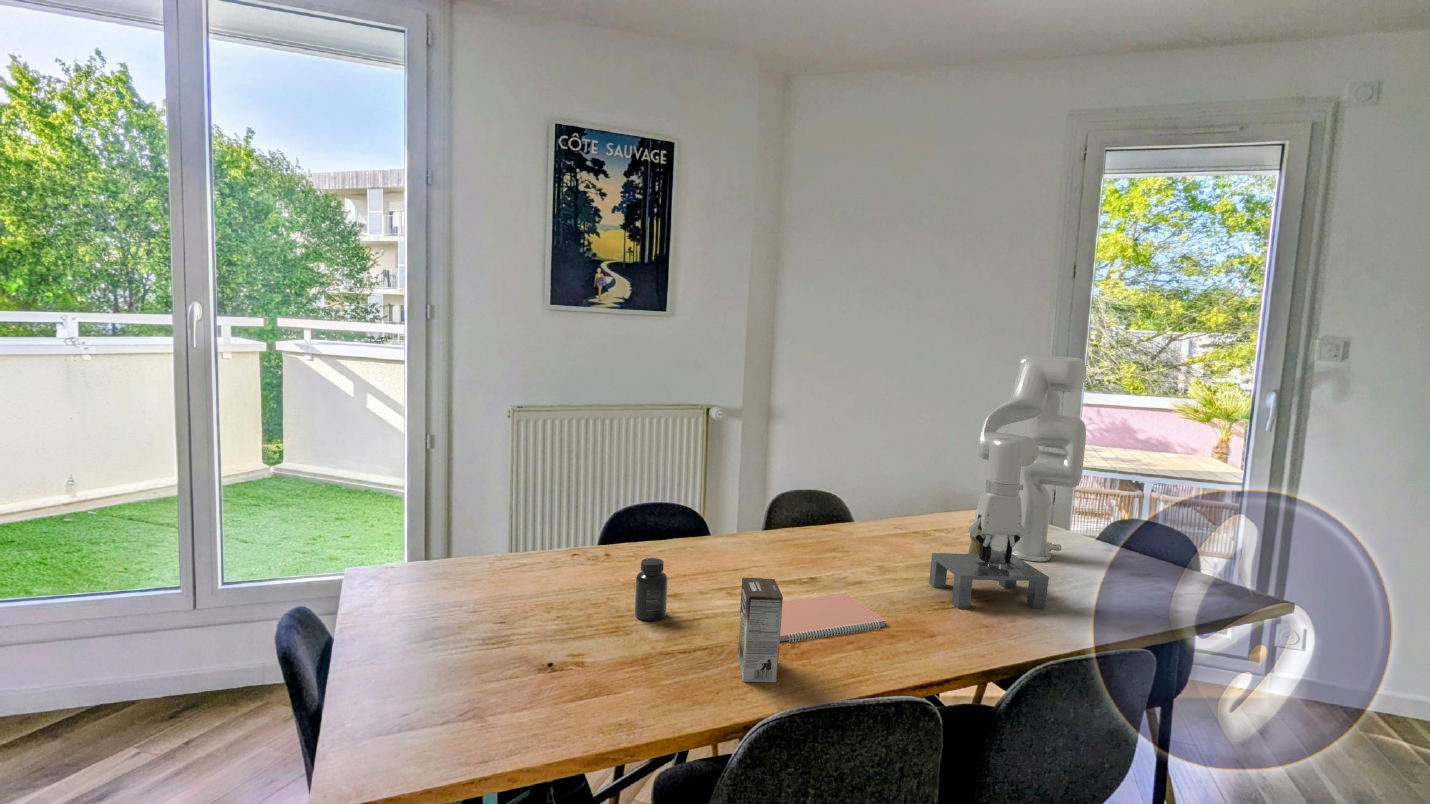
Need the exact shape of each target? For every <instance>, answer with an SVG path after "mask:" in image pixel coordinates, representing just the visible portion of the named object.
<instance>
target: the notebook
mask: <svg viewBox="0 0 1430 804" xmlns="http://www.w3.org/2000/svg"><path fill="white" fill-rule="evenodd" d="M886 623H887V620H886V619H885V618H883V617H882V616H880V615H879V614H877V613H875V612H874V611H872V610H871V609H869V608H868V607H866V606H865V605H863V604H862V603H861V602H859V601H858V600H856V599H854V598H853V597H851V596H849V595H848V594H846V593H839V594H832V595H825V596H824V595H823V596H817V597H808V598H800V599H792V600H783V604H782V618H781V631H780V642H784V641H786V642H787V641H788V643H794V642H797V640H798V642H800V641H801V642H802V641H809V639H810V641H811V640H812V639H813V640H815V639H820V638H821V639H822V638H823V639H824V638H827V637H828V638H830V637H835V636H836V637H837V636H838V635H839V636H840V635H841V634H842V636H843V635H847V634H848V635H849V634H855V632H856V634H857V633H858V632H859V633H861V632H869V631H871V632H872V630H873V631H874V630H880V629H881V627H886V626H885V624H886ZM815 637H816V638H815ZM800 639H801V640H800ZM794 640H795V641H794Z"/></svg>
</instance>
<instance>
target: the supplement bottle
mask: <svg viewBox="0 0 1430 804" xmlns="http://www.w3.org/2000/svg"><path fill="white" fill-rule="evenodd" d="M664 563H665V562H664V559H663V560H662V559H661V558H657V557H656V558H655V557H647V558H644V559H641V562H640V571H639V572H638V574H637V575H636V577H635V587H634V590H635V594H634V615H635V617H636V618H637V619H639V620H641V621H646V622H656V621H659V620H662V619H664V618H665V617H666V615H667V607H668V605H667V604H668V601H667V600H668V576H667V574H666V572H664V566H665V565H664Z"/></svg>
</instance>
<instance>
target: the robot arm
mask: <svg viewBox="0 0 1430 804" xmlns="http://www.w3.org/2000/svg"><path fill="white" fill-rule="evenodd" d="M1017 363H1018V364H1017V365H1018V367H1017V369H1018V372H1017V375H1016V378H1015V382H1014V384H1013V387H1012V390H1011V394H1010V398H1009V400H1008V401H1006V402H1004V403H1001V404H1000V405H999V406H997V407H996V408H994V409H993V410H992V411H991V412H990V413H989V414H988V415H987V416H986V417H985V419H984V420H983V423H982V426H981V428H980V431H979V434H978V438H977V442H976V454H977V456H978V457H979V458H981V459H982V460H984V461H986V462H988V463H987V472H986V478H985V479H986V480H985V490H984V491H981V494H980V496H979V499H978V502H977V506H976V511H975V516H974V523H973V524H972V525H971V526H970V527H969V529H968V530H967V531H968V533H969V535H970V534H971V535H973V536H974V537H975V539H976V540H977V541H978V543H980V547H979V558H980V559H981V560H982V561H984V562H985V563H987V562H988V560H989V550H990V548H989V547H988V543H989V540H990V538H991V535H996V534H1001V535H1008V545H1007V554H1006V562H1007V563H1010V558H1011V556H1012V555H1014V556H1016V557H1018V558H1019V559H1021V560H1022V561H1029V562H1046V561H1048V562H1049V560H1051V557H1052V554H1051V553H1050V552H1052V551H1056V552H1057V551H1058V552H1059V551H1062V549H1063V547H1062V545H1061V544H1060V543H1052V542H1050V541H1049V542H1048V541H1047V540H1048V529H1049V522H1050V513H1051V512H1050V511H1051V505H1052V498H1051V496H1050V493H1049V491H1048V490H1047V488H1046V487H1045V485H1047V486H1048V485H1049V486H1053V487H1054V486H1055V487H1062V488H1067V489H1068V488H1069V489H1072V488H1073V489H1074V488H1076V487H1078V486H1079V485H1080V483H1081V481H1082V478H1083V471H1084V459H1085V452H1086V451H1085V449H1086V440H1087V427H1086V424H1085V421H1083V420H1082V419H1081V418H1080V417H1076V416H1075V417H1074V416H1067V415H1060V406H1061V405H1060V404H1061V397H1060V394H1059V392H1061V393H1072V392H1075V391H1076V390H1079V388H1081V387H1082V386H1083V384H1084V382H1085V380H1086V378H1087V377H1086V376H1087V365H1086V363H1085V361H1084V360H1083V359H1082V358H1079V357H1073V356H1070V357H1069V356H1059V355H1058V356H1056V355H1045V354H1044V355H1043V354H1029V355H1024V356H1022V357H1021V358H1020V359H1019V360H1018V362H1017ZM1023 421H1025V425H1024V435H1019V434H1018V435H1017V434H1011V433H1006V432H1005V433H1004V432H998V430H1000V429H1001V428H1003V427H1005V426H1007V425H1010V424H1014V423H1019V422H1023ZM1039 447H1045V448H1051V449H1060V450H1063V451H1064V452H1065V453H1061V452H1054V451H1053V452H1052V451H1046V450H1040V448H1039ZM977 530H981V534H980V535H979V534H978V533H977Z"/></svg>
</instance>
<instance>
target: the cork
mask: <svg viewBox="0 0 1430 804" xmlns="http://www.w3.org/2000/svg"><path fill="white" fill-rule="evenodd" d="M977 533H978V534H979V535H980V534H981V530H977ZM969 538H970V540H971V541H970V545H969V549H968V553H967V554H979V547H980V543H978V541H977V540H976V539H975V537H974V536H973V535H971V534H970V533H969ZM981 567H989V565H988V566H981Z"/></svg>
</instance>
